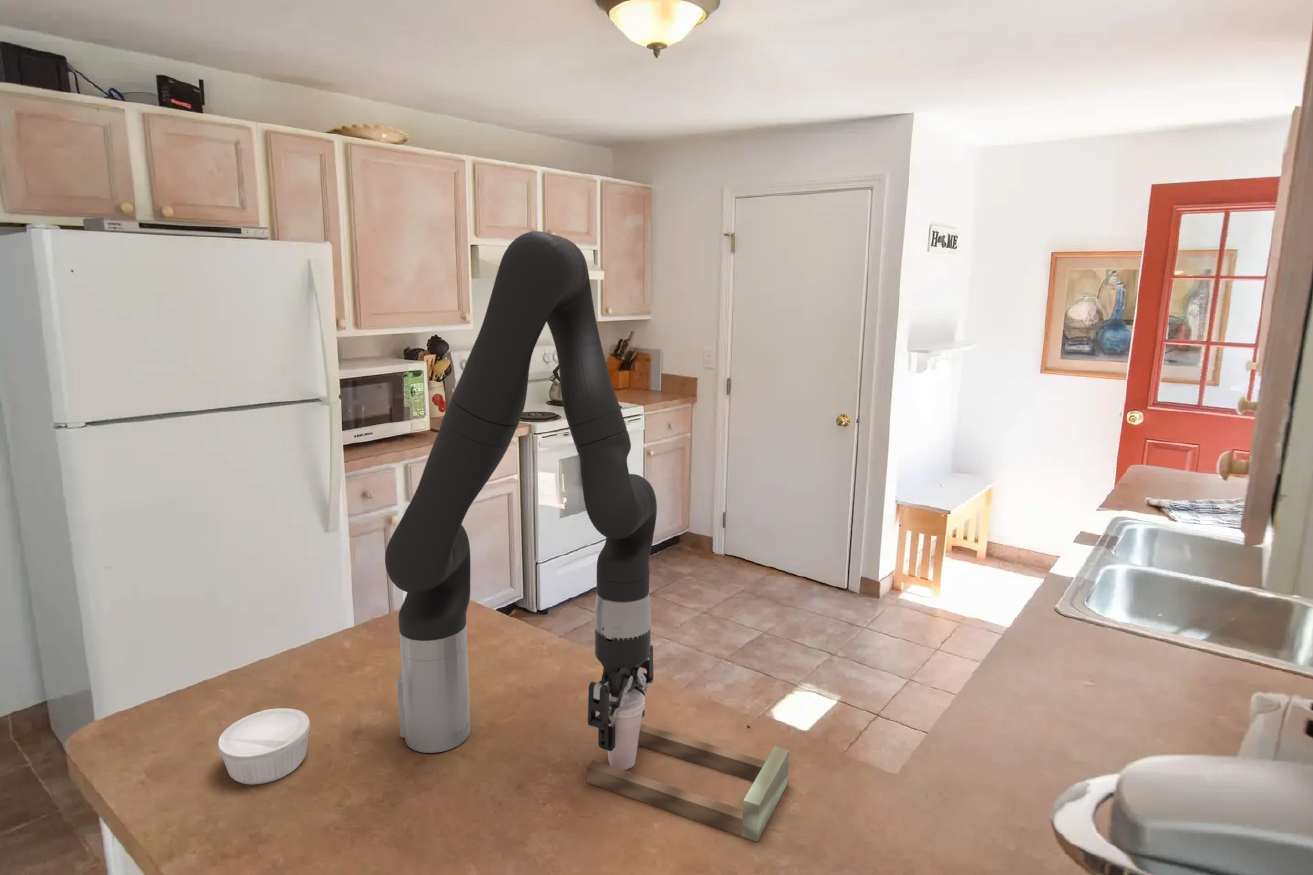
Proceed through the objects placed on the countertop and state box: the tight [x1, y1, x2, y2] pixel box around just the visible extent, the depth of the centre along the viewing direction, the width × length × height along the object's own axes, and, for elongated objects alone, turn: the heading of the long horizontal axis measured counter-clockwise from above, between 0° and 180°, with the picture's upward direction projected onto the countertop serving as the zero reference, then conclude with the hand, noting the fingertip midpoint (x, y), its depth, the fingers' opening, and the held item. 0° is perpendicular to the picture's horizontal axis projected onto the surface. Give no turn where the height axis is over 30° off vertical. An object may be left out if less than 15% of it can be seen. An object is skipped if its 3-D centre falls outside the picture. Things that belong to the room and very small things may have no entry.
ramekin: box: [217, 707, 311, 785], centre depth 104 cm, size 11×11×5 cm
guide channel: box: [586, 723, 790, 843], centre depth 101 cm, size 24×12×5 cm, turn 64°
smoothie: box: [606, 689, 646, 771], centre depth 105 cm, size 6×6×14 cm
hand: (622, 731), depth 105 cm, fingers open, 8 cm apart
